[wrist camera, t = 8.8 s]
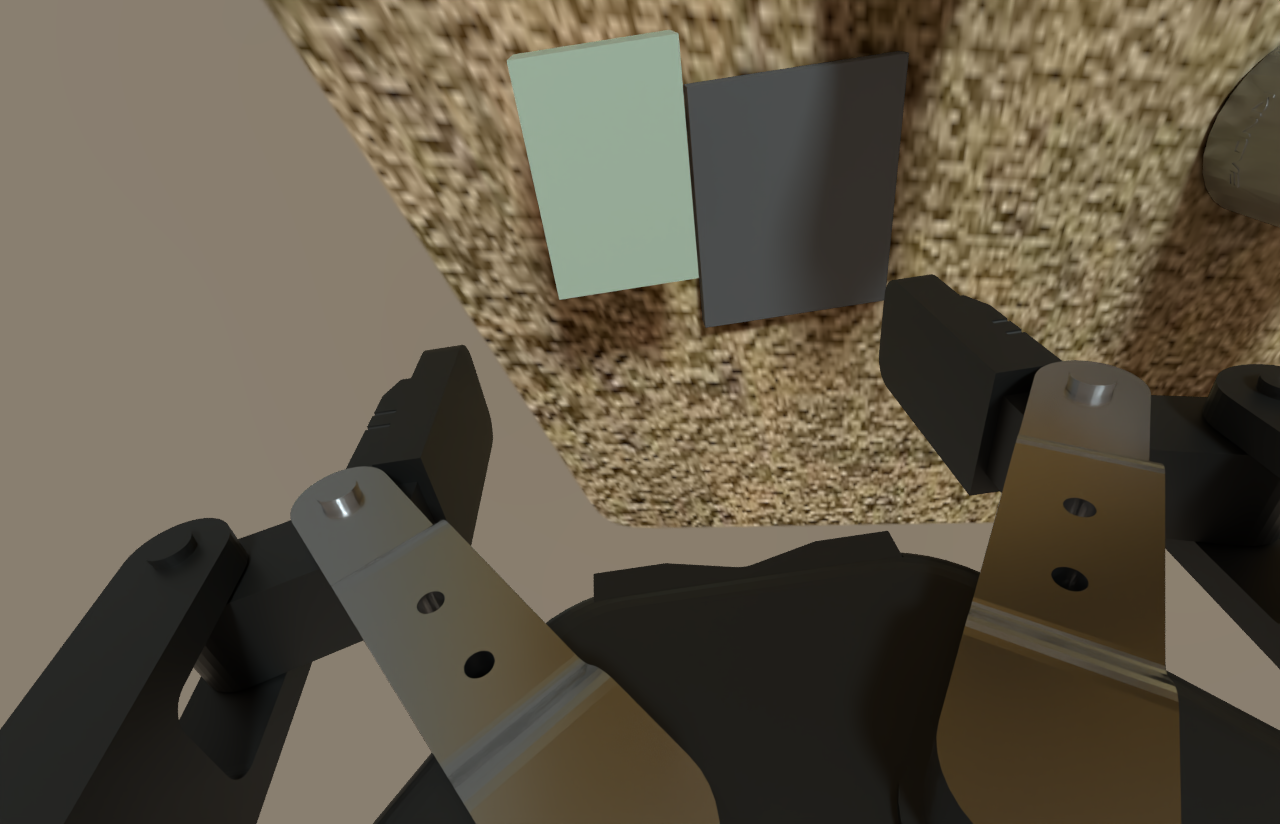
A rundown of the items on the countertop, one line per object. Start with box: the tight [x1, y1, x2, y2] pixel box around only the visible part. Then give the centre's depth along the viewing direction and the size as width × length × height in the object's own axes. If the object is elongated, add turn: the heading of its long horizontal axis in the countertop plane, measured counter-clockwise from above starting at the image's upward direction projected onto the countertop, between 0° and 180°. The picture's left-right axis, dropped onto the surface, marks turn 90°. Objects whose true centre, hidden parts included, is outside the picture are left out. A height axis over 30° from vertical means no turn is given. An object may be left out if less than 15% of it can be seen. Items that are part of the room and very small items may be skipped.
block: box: [507, 30, 699, 300], centre depth 25 cm, size 6×9×2 cm, turn 8°
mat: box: [684, 51, 909, 328], centre depth 32 cm, size 10×12×1 cm
